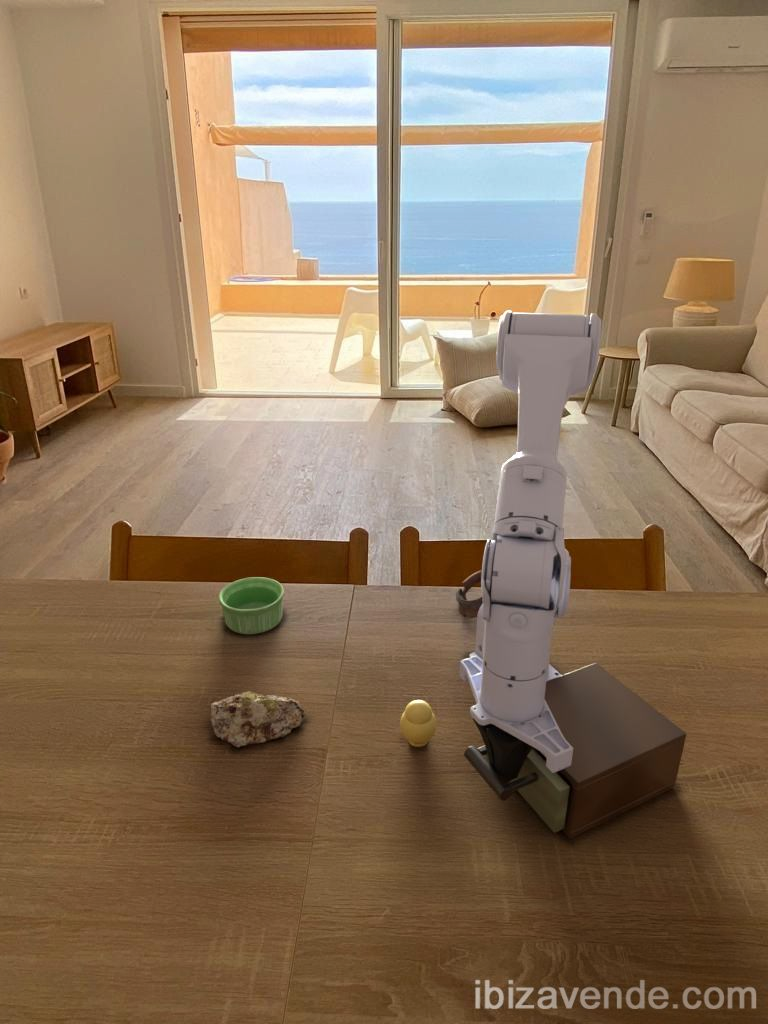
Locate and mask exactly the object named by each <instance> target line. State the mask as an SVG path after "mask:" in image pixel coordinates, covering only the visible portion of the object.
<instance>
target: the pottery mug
mask: <svg viewBox="0 0 768 1024" xmlns="http://www.w3.org/2000/svg"><path fill="white" fill-rule="evenodd" d="M481 575H482V569H480V570H478V571H476V572H474V573H472V574H471V575H469V576H468V577H466V579H464V580H462V582H461V585H462V586H463V589H462V588H458V590H456V592H455V600H456V602H457V611H458V613H459V615H460V616H462V617H463V618H467V619H477V615H478V611H479V609H480V607H481V605H482V604H483V602H482V596H481V597H479V598H476V599H475V598H474V599H472V600H471V599H470V600H468V599H467V593H468V592H469V590H471V589H472V588H473V587H474V586H475V585H477V584H479V583H481Z"/></svg>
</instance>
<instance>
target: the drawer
mask: <svg viewBox="0 0 768 1024" xmlns="http://www.w3.org/2000/svg"><path fill="white" fill-rule="evenodd" d="M463 755H464V757H465V759H466V760H467V761H468V762H469V764H470V765H471V766H472V767H473V768H474V770H475V771H476V772H477V773H478V774H479V776H480V777H481V778H482V779H483V781H484V782H485V783H486V784H487V785H488V787H489V788H490V789H491V790H492V791H493V792H494V794H495V795H496V796H497V798H498V799H499V800H500V801H507V800H508V799H509V798H510V797H511V796H512V794H513V792H515V791H517V792H518V793H519V794H520V795H521V797H522V798H523V799H524V801H525V802H527V804H528V805H529V806H530V807H531V808H532V810H533V811H534V812H535V813H536V814H537V815H538V816H539V818H541V820H542V821H543V822H544V823H545V825H546V826H547V827H548V828H549V829H550V830H551V831H552V833H554V834H556V833H558V832H560V831H562V829H564V825H565V818H566V811H567V810H568V803H569V796H570V789H571V784H572V783H571V782H570V781H569V780H568V779H567V778H566V777H565V776H564V775H563V774H562V773H561V772H560V771H557V772H554V773H552V772H551V771H550V770H549V769H548V768H547V767H546V757H545V756H544V755H543V754H542V753H541V752H540V751H539V750H537V749H536V748H534V747H533V748H532V750H531V751H530V753H529V754H528V756H527V757H526V759H525V761H524V763H523V765H522V767H521V769H520V772H519V774H518V776H517V778H515V779H513V780H511V781H508V782H505V781H504V779H503V778H502V777H501V776H500V775H499V774H498V772H497V771H496V770H495V769H494V768H493V767H492V766H491V764H490V763H489V760H487V758H486V757H485V755H486V756H487V757H488V754H487V750H486V747H485V745H482V746H480V747H478V748H477V747H476V746H475V745H471V746H470V745H469V746H468V747H467V748H466V749H465V751H464V753H463Z"/></svg>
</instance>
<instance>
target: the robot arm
mask: <svg viewBox="0 0 768 1024" xmlns="http://www.w3.org/2000/svg"><path fill="white" fill-rule="evenodd" d="M499 318H500V319H499V322H498V329H497V339H496V353H495V354H496V356H495V362H496V363H495V365H496V369H497V371H498V377H499V380H500V381H501V383H502V387H503V388H504V389H505V388H506V389H507V390H511V392H515V393H517V394H518V401H517V403H518V407H517V440H516V442H517V444H516V445H517V446H516V447H517V449H516V453H515V454H514V455H513V456H512V457H511V458H509V459H507V461H506V462H504V463H503V464H502V466H501V468H500V477H499V484H498V489H497V490H498V491H497V498H496V507H495V514H494V522H493V530H492V538H491V539H490V538H488V539H487V540H486V543H485V546H484V552H483V556H482V563H481V564H482V565H481V570H482V575H481V581H480V588H481V589H480V590H481V595H482V596H481V597H482V602H483V604H482V605H481V607H480V609H479V611H478V615H477V618H476V631H475V647H474V648H475V650H474V652H471V653H469V654H468V656H469V657H467V658H464V659H461V660H459V669H458V673H459V674H458V677H459V678H460V679H461V680H462V681H464V682H468V684H469V686H470V689H471V693H472V695H473V697H474V700H475V705H472V706H471V707H470V712H469V714H470V716H471V718H472V721H473V722H474V724H475V726H476V727H477V729H478V731H479V733H480V735H481V738H482V740H483V741H482V742H483V743H484V746H485V747H486V750H487V754H488V756H487V759H488V762H489V763H490V764H491V766H492V767H493V768H494V769H495V770H496V771H497V772H498V774H499V775H500V776H501V777H502V778H503V779H504V781H505V782H506V783H509V781H511V780H513V779H515V778H517V776H518V774H519V772H520V769H521V767H522V765H523V763H524V761H525V759H526V757H527V756H528V754H529V753H530V751H531V750H532V748H533V747H534V748H536V749H537V750H539V751H540V752H541V753H542V754H543V755H544V756H545V757H546V767H547V768H548V769H549V770H550V771H551V772H552V773H554V772H557V771H560V770H562V769H564V768H566V767H568V766H570V765H571V762H572V755H573V747H572V746H571V745H570V744H569V743H568V742H567V741H566V739H565V738H564V736H563V735H562V733H561V731H560V729H559V727H558V725H557V723H556V721H555V719H554V717H553V715H552V713H551V711H550V709H549V707H548V705H547V703H546V701H545V699H544V698H545V689H546V681H548V680H551V679H554V678H556V677H559V676H562V675H563V674H561V673H560V672H559V671H558V670H557V669H556V668H555V667H553V665H551V664H550V661H551V651H552V641H553V634H554V626H556V618H557V619H563V618H564V616H566V615H567V614H568V607H569V599H570V590H571V578H572V577H571V576H572V575H571V574H572V573H571V572H572V570H571V568H572V557H571V556H570V552H569V551H568V550H567V549H566V544H565V527H563V526H564V513H565V502H566V490H567V478H568V476H567V475H568V474H567V470H566V469H565V467H564V466H563V464H561V462H560V461H558V456H559V455H558V454H559V446H560V437H561V436H560V435H561V428H562V427H561V426H562V419H563V415H564V414H563V413H564V409H565V407H566V405H567V403H568V401H569V400H570V398H571V397H572V396H575V395H579V394H582V393H585V392H588V391H589V386H591V385H592V383H593V380H594V376H595V374H596V372H597V369H598V363H599V355H600V347H601V337H602V325H603V324H602V318H600V317H599V315H598V313H591V314H590V315H589V314H570V313H540V312H538V313H537V312H536V313H535V312H513V311H512V310H506V311H505V312H504V313H503V315H501V316H500V317H499Z"/></svg>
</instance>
